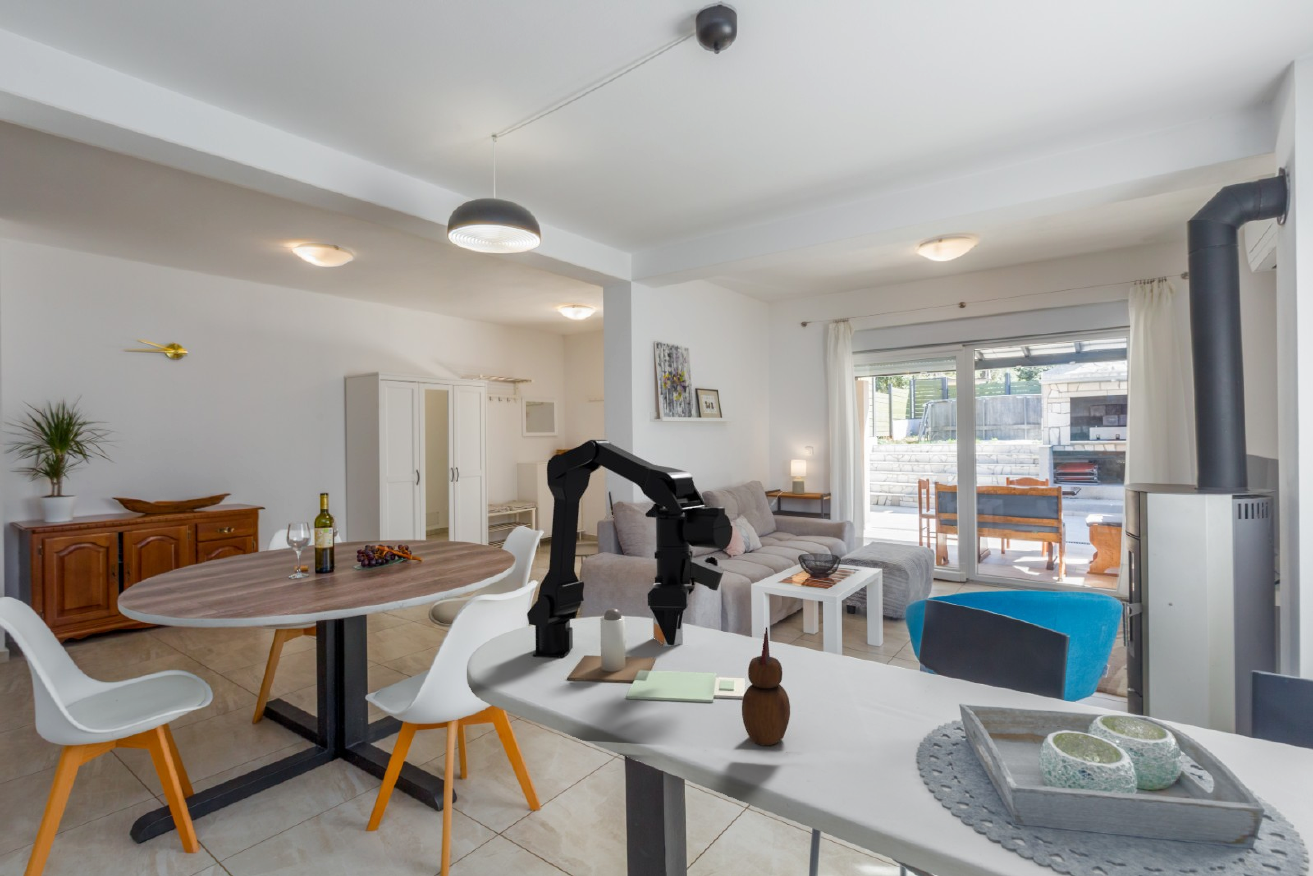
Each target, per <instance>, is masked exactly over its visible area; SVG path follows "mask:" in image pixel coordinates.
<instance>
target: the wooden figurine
mask: <svg viewBox="0 0 1313 876" xmlns="http://www.w3.org/2000/svg"><path fill="white" fill-rule="evenodd" d="M768 630H769V629H768V627H767V626H766V627H765V633H763V644H762V651H761V655H759V656H755V657H753V658H751V660H750V661H749V664H748V670H747V676H748V680H749V682H750V683H751V685H749V686H748V687H747V689H746V690H745V694H744V697H743V699H742V702H741V717H742V723H743V726H744V728H745V731H746V733H747V735H748V737H749V739H750V740H751V742H753V743H755V744H757V745H761V746H772V745H776V744H777V743H779V742H780V741H782V740H783V738H784V736H785V735H786V731H787V729H788V726H789V721H790V717H791V703H790V698H789V696H788V693H787V691H786V690H785V688H784V687H783V686H782V685H781V682H782V680H783V667H782V663H781V662H780V661H779V660H778V659H777V658H776V657H773V656H771V655H770V645H769V633H768V632H769V631H768Z"/></svg>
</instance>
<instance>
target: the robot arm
mask: <svg viewBox="0 0 1313 876" xmlns="http://www.w3.org/2000/svg"><path fill="white" fill-rule="evenodd" d="M601 467H603V468H605V469H607V470H609V471H611V472H612V473H614V474H617V475H618V476H620V477H622V478H624V479H626V480H628V481H629V482H632V483H633V484H636V485H637V486H638V487H639V488H640V490H641V491H642V493H643V494H644V496H645V497H647V498H648V499H650V501H652V502H653V505H652V507H651V508H650V509H649V510H647V511H646V512H645V517H647V518H654V519H655V532H656V533H655V536H656V537H655V541H656V544H655V546H656V547H655V548H656V549H655V551H654V560H656V575H655V576H654V584H655V583H661V584H655V585H654V586H653V585H652V588H651V589H649V591H648V592H647V606H648V607H649V609H650V611H651V612H652V615H653V614H654V616H655V618H656V620H657V622H658V624H659V626H660V628H661V631H662V633H663V635H664V637H665V640H666V642H667V644H668V645H674V644H675V639H676V632H677V629H680V628H681V623H682V624H683V618H684V617H683V616H684V613H685V612H684V611H685V610H687V608H688V605H689V597H690V595H691V594H692V593H693V592H694V590H695V588H696V583H697V584H699V585H701V586H704V587H706V588H708V589H709V590H712V591H718V589H719V585H720V584H721V581H722V577H723V576H724V571H725V570H724V568H723V567H722V566H719V564H718V563H719V562H718V558H717V557H715V556H712V555H709V556H707V557H706V558H705V559H704V560H703V559H702V558H700V559H699V558H696V557H694V555H693V554H694V552H693V550H692V548H691V547H694V548H695V547H696V548H703V549H704V548H705V549H713V550H715V549H716V550H722V551H723V550H726V549H727V548H728V547H729V546H730V544H731V541H732V538H733V533H734V532H733V525H732V523H731V520H730V518H729V516H728V515H727V514H726V508H725V507H724V506H715V507H714V506H712V507H710V506H708V505H707V503H706V502H705V500H704V499H703V497H702V495H701V493H700V492H699V491H698V489H697V487H696V485H695V482H694V480H693V478H694V477H693V476H692V474H690V473H689V472H688V471H685V470H682V469H678V468H673V467H669V466H661V465H658V464H653V463H652V462H649V461H647V460H645V459H643V458H641V457H638V456H637V455H635V454H633V453H630V452H629V451H627V450H625V449H622V448H621V447H619V446H617V445H614V444H612V442H610V441H608V440H606V439H589V440H587V441H585V442H584V443H582V444H581V445H579V446H576V447H574V448H571V449H569V450H567V451H563V452H562V453H559V454H555V455H552V457H551V458H550V459H548V461H547V465H546V479H547V481H546V483H547V486H548V489H549V491H550V492H551V495H552V496H553V508H552V509H553V510H552V524H551V525H552V526H551V538H550V554H549V563H548V564H549V566H548V571H547V573H546V575H545V576H544V578H543V579H542V581H541V583H540V585H539V590H538V595H537V600H536V601H535V602H534V603H533V605H532V607H531V608H530V609H529V610H528V612H527V613H526V616H527V620H528V624H529V625H531V626H535V627H534V628H535V631H534V634H535V635H534V636H535V651H534V652H533V653H532V657H536V658H537V657H542V658H544V657H545V658H565V657H566V656H567V655H568V654H569V653H570V652H571V650H572V649H573V648H574V647H573V646H574V642H573V641H574V640H573V637H574V636H573V635H574V634H573V631H574V629H573V626H571V620H572V619H573V620H574V619H576V618H577V615H578V612H579V611H578V610H579V609H580V607H581V605H582V602H584V600H585V599H584V589H585V582H584V580H579V577H578V576H577V574H576V572H575V571H576V570H575V565H576V554H577V552H576V551H577V539H578V526H579V512H580V502H581V498H582V497H583V495H584V494H585V492H586V491H587V489H588V487H589V483H590V478H591V475H592V473H595V472H596V471H597V470H599V469H600V468H601ZM674 646H675V645H674Z"/></svg>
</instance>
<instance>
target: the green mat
mask: <svg viewBox="0 0 1313 876" xmlns="http://www.w3.org/2000/svg"><path fill="white" fill-rule="evenodd" d="M643 672H645V670H643V671H642V674H641V672H640V670H639V672H638V674H637V675H638V677H636V678H639V677H640V678H642V677H643V675H644V673H643ZM648 672H649V673H648ZM640 674H641V675H642V677H641V676H640ZM717 675H718V674H717V672H697V671H695V672H693V671H668V670H666V671H665V670H651V671H647V670H646V675H644V676H646V681H645V679H644V678H642V679H643V680H644V681H643V680H641V681H640V680H639V679H637V680H636V679H635V680H634V682H633V683H632V684H631V686H630V688H629V691H628V693H627V694H626V699H630V700H631V699H633V700H649V701H651V700H652V701H670V702H671V701H673V702H674V701H675V702H695V703H696V702H697V703H714V694H713V693H714V692H713V690H714V689H715V682H716V677H718V676H717ZM647 676H648V677H647ZM711 677H712V679H711ZM714 677H715V678H714ZM711 680H712V681H711ZM711 682H712V683H713V684H712V683H711ZM711 686H712V687H711ZM709 690H710V691H709ZM711 690H712V691H711ZM709 694H710V695H709Z"/></svg>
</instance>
